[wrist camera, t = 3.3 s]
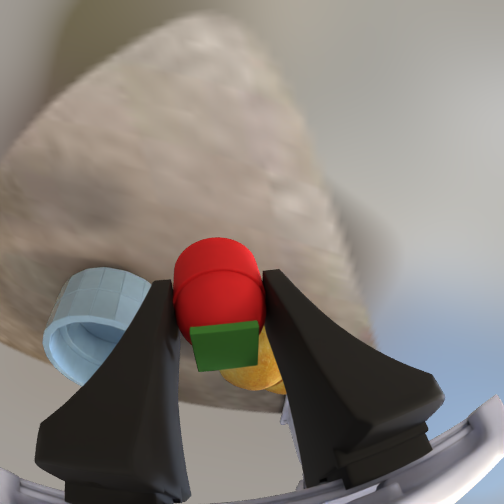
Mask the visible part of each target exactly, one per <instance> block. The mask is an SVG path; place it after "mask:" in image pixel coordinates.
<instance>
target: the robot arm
mask: <svg viewBox="0 0 504 504" xmlns="http://www.w3.org/2000/svg"><path fill="white" fill-rule="evenodd" d="M262 282H263V286H264V289H265V303H266V319H265V324H264V326H265V331H266V335H267V338H268V341H269V344H270V346H271V349H272V352H273V355H274V358H275V361H276V363H277V366H278V369H279V372H280V374H281V377H282V380H283V383H284V386H285V390H286V393H287V394H286V398H285V402H284V407H283V411H282V415H281V420H280V424H281V425H285V424H289V428H290V430H291V435H292V438H293V441H294V445H295V449H296V452H297V456H298V459H299V461H300V463H301V465H302V469H303V478H304V479H303V480H300V481H299V483H298V486H297V487H296V491H295V492H290V493H285V494H280V495H275V496H270V497H264V498H258V499H251V500H244V501H235V502H226V503H212V504H454V503H455V502H457V501H458V500H459V499H460V498H461V497H462V496H464V495H465V494H466V493H467V492H468V491H469V490H470V489H471V488H473V487H474V486H475V485H476V484H477V483H478V482H479V481H480V480H481V479H482V478H483V477H484V476H485V475H486V474H487V473H488V472H489V471H490V470H491V469H492V468H493V467H494V466H495V465H496V464H497V463H498V462H499V460H501V459H502V458H503V457H504V405H503V403H502V401H501V400H500V398H499V397H498V395H494V396H493V397H492V398H490V399H489V400H488V401H487V402H485V403H484V404H482V405H481V406H480V407H478V408H477V409H476V410H475V411H474V412H472V413H471V414H470V415H469V416H468V418H466V419H465V420H463V421H462V422H460V423H459V424H457V425H456V426H454V427H452V428H451V429H449V430H447V431H446V432H444V433H442V434H441V435H439V436H437V437H435V438H434V439H432V440H430V441H429V440H428V438H427V436H426V434H425V433H426V432H427V431H428V427H427V425H426V423H425V421H426V420H427V419H428V418H429V417H430V416H431V415H432V414H433V413H435V412H436V410H438V409H439V407H440V406H441V405H442V404H443V402H444V400H445V395H444V393H443V391H442V390H441V388H440V387H439V385H438V383H437V381H436V380H435V378H434V377H433V375H432V374H430V373H427V372H424V371H422V370H419V369H416V368H413V367H411V366H408V365H406V364H403V363H401V362H399V361H397V360H395V359H393V358H391V357H388V356H387V355H384V354H383V353H381V352H379V351H377V350H375V349H374V348H372V347H370V346H368V345H367V344H365V343H363V342H362V341H360V340H359V339H357V338H355V337H354V336H353V335H351V334H350V333H348V332H347V331H345V330H344V329H343V328H341V327H340V326H339V325H337V324H336V323H335V322H333V321H332V320H331V319H330V318H329V317H327V316H326V315H325V314H324V313H323V312H322V311H321V310H319V309H318V308H317V307H316V306H315V305H314V304H313V303H312V302H311V301H310V300H309V299H308V298H307V297H306V296H305V295H304V294H303V293H302V292H301V291H300V290H299V289H298V288H297V287H296V286H295V285H294V284H293V283H292V282H291V281H290V280H289V279H288V278H287V277H286V276H285V275H284V273H283V272H282V271H280V270H279V269H276V270H267V271H263V280H262ZM179 361H180V329H179V327H178V325H177V321H176V316H175V309H174V305H173V288H172V283H171V280H159V281H154V282H153V283H152V285H151V287H150V289H149V291H148V293H147V295H146V297H145V299H144V301H143V302H142V304H141V306H140V308H139V310H138V311H137V313H136V315H135V316H134V318H133V320H132V322H131V323H130V325H129V326H128V328H127V330H126V331H125V333H124V334H123V336H122V337H121V339H120V340H119V342H118V343H117V345H116V346H115V348H114V349H113V350H112V352H111V353H110V354H109V356H108V357H107V358H106V360H105V361H104V362H103V363H102V365H101V366H100V367H99V368H98V369H97V371H96V372H95V373H94V374H93V375H92V377H91V378H90V379H89V380H88V381H87V382H86V383H85V384H84V385H83V386H82V387H81V388H80V389H79V390H78V391H77V392H76V393H75V394H74V395H73V396H72V397H71V398H70V399H69V400H68V401H67V402H66V403H65V404H64V405H63V406H62V407H60V408H59V409H58V410H57V411H55V412H54V413H53V414H52V415H50V416H49V417H48V418H47V419H45V420H44V421H43V422H42V423H41V424H40V428H39V432H38V438H37V444H36V452H35V463H36V464H37V466H39V467H40V468H41V469H43V470H44V471H46V472H48V473H50V474H52V475H54V476H56V477H57V478H59V479H61V480H63V481H65V491H62V490H58V489H54V488H51V487H47V486H44V485H40V484H37V483H34V482H31V481H28V480H25V479H22V478H19V477H18V476H17V475H15V474H14V473H12V472H10V471H8V470H5V469H3V468H1V467H0V504H173V503H182V502H185V501H187V500H188V499H189V497H190V496H191V491H190V486H189V481H188V476H187V472H186V465H185V458H184V452H183V445H182V437H181V428H180V418H179V407H178V382H179Z"/></svg>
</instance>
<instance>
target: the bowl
mask: <svg viewBox="0 0 504 504" xmlns="http://www.w3.org/2000/svg"><path fill="white" fill-rule="evenodd" d="M151 285H152V284H150V283H149V282H148V281H147V280H145V279H143V278H141V277H139V276H137V275H135V274H132V273H130V272H128V271H125V270H119V269H114V268H109V267H98V268H88V269H85V270H83V271H81V272H79V273H77V274H74V275H73V276H72V277H71V278H70V279H69V280H68V281H67V282H66V283H65V284H64V286H63V288H62V290H61V292H60V294H59V296H58V299H57V301H56V303H55V306H54V308H53V310H52V313H51V315H50V318H49V320H48V323H47V325H46V328H45V330H44V335H43V342H42V343H43V347H44V350H45V353H46V356H47V357H48V359H49V360H50V361H51V363H52V364H53V366H54V367H55V368H56V369H57V370H58V371H60V372H61V373H62V374H63V375H64V376H65V377H67V378H68V379H69V380H71V381H73V382H75V383H76V384H78V385H80V386H83V385H84V384H85V383H86V382H87V381H88V380H89V379H90V378H91V377H92V375H93V374H94V373H95V372H96V371H97V369H98V368H99V367H100V366H101V365H102V363H103V362H104V361H105V360H106V358H107V357H108V356H109V354H110V353H111V352H112V350H113V349H114V348H115V346H116V345H117V343H118V342H119V340H120V339H121V337H122V336H123V334H124V333H125V331H126V330H127V328H128V326H129V325H130V323H131V322H132V320H133V318H134V316H135V315H136V313H137V311H138V310H139V308H140V306H141V304H142V302H143V301H144V299H145V297H146V295H147V293H148V291H149V289H150V287H151Z"/></svg>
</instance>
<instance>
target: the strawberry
mask: <svg viewBox="0 0 504 504" xmlns="http://www.w3.org/2000/svg"><path fill="white" fill-rule="evenodd" d="M173 305H174V309H175V316H176V321H177V325H178V327H179V329H180V331H181V333H182V335H183V336H184V338H185V339H186V340H187V341H188V342H189V343H190V344H191V345H192V347H193V351H194V355H195V360H196V364H197V368H198V371H199V372H204V371H215V370H225V369H233V368H242V367H249V366H257V365H258V347H259V335H260V333H261V331H262V329H263V327H264V324H265V319H266V303H265V289H264V286H263V282H262V279H261V276H260V273H259V270H258V267H257V264H256V261H255V258H254V256H253V255H252V253H251V252H250V251H249V249H247V248H246V247H245V246H244V245H242V244H241V243H239V242H237V241H234V240H231V239H227V238H219V237H218V238H207V239H203V240H200V241H198V242H196V243H194V244H192V245H190V246H189V247H188V248H186V249H185V250H184V251H183V252H182V253H181V255H180V256H179V258H178V259H177V262H176V264H175V268H174V283H173Z"/></svg>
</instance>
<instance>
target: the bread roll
mask: <svg viewBox="0 0 504 504" xmlns="http://www.w3.org/2000/svg"><path fill="white" fill-rule="evenodd" d="M219 371H220V373H221V375H222V376H223V377H224V378H225V379H226V380H227V381H228V382H230V383H231V384H233V385H235V386H237V387H240V388H244V389H247V390H262V389H265V390H267V391H270V392H273V393H277V394H287V393H286V390H285V386H284V383H283V380H282V377H281V374H280V372H279V369H278V366H277V363H276V361H275V358H274V355H273V352H272V349H271V346H270V344H269V341H268V338H267V335H266V331H265V326H264V327H263V329H262V331H261V333H260V335H259V347H258V365H257V366H249V367H242V368H233V369H225V370H219Z"/></svg>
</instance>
